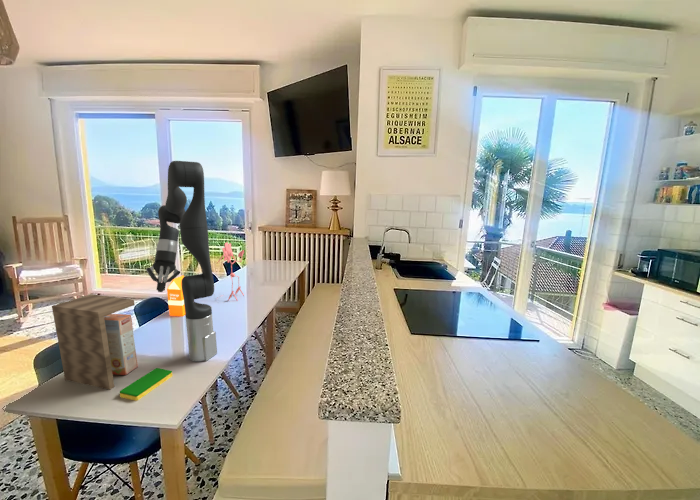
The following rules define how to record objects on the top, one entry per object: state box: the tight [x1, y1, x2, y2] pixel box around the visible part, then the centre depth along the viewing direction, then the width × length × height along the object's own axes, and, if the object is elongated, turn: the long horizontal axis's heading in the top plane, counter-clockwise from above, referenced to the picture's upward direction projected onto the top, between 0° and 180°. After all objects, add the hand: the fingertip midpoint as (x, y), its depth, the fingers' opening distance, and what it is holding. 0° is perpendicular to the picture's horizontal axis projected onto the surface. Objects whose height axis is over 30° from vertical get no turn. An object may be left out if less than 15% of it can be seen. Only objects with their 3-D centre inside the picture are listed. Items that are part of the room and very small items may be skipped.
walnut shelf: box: [51, 293, 135, 391], centre depth 105 cm, size 20×12×27 cm, turn 76°
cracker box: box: [104, 313, 138, 376], centre depth 108 cm, size 14×6×21 cm, turn 84°
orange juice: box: [166, 275, 185, 317], centre depth 161 cm, size 8×9×20 cm
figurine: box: [216, 241, 245, 302], centre depth 184 cm, size 15×26×35 cm, turn 175°
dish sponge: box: [119, 367, 173, 402], centre depth 101 cm, size 7×14×2 cm, turn 165°
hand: (160, 291), depth 126 cm, fingers closed
